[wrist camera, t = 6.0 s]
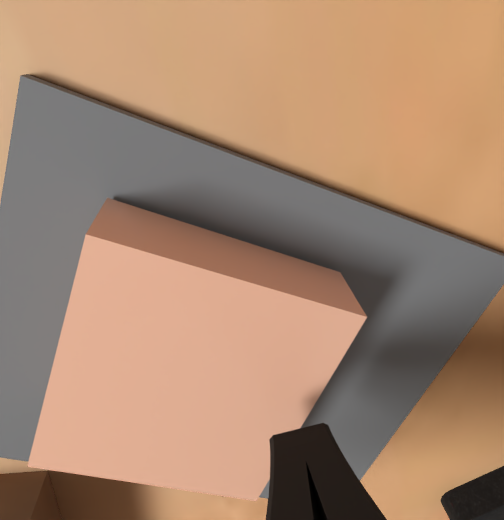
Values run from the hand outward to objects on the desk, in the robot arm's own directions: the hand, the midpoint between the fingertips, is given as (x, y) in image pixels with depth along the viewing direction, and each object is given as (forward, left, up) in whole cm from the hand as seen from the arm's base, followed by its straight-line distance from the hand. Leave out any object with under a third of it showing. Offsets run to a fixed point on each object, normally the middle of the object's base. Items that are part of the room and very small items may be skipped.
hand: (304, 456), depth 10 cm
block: (0, 0, -2) cm, 2 cm away
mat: (+2, +1, -4) cm, 4 cm away
